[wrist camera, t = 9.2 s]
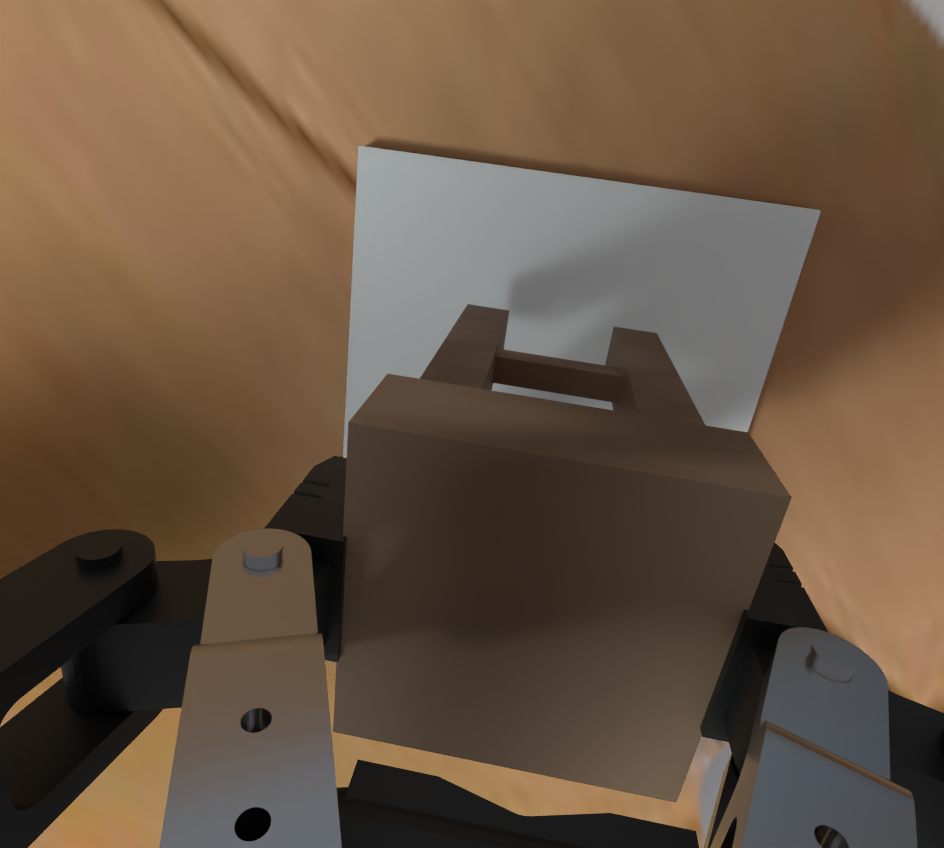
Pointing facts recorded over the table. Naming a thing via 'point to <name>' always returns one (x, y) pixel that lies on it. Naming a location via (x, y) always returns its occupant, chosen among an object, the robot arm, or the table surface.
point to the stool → (546, 560)
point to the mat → (568, 273)
